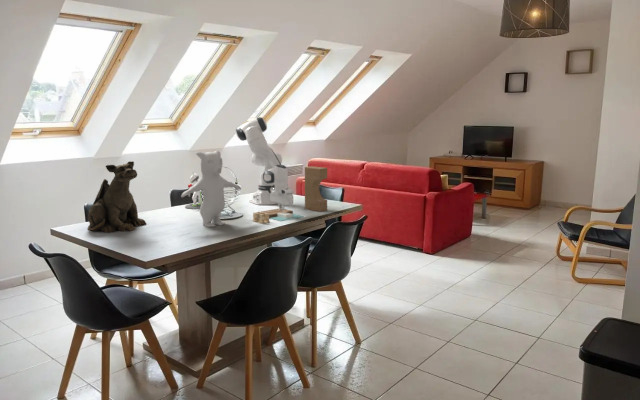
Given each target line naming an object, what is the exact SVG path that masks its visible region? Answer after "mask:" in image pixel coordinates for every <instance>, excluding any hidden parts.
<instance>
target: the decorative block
mask: <svg viewBox="0 0 640 400" xmlns="http://www.w3.org/2000/svg"><path fill="white" fill-rule="evenodd" d="M325 179H328V167H322V166H320V167H319V166H313V165H312V166H305V167H304V209H305V210H309V211H313V212H314V211H315V212H320V213H321V212H325V211H327V210H328V200H327V199H325V198H324V197H323V196H322V195H321V190H320V187H321V185H320V184H321V183H322V181H323V180H325Z"/></svg>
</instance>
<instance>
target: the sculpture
mask: <svg viewBox="0 0 640 400" xmlns="http://www.w3.org/2000/svg"><path fill="white" fill-rule="evenodd" d="M134 166H135V162H134V161H128V162H127V163H123V164H119V165H115V164H107V165H105V169H106V170H107V171H108V172H109V173H113V174H114V177H113V179H112V180H111V182H110V184H109V181H108V179H105V178H103V181H102V183H101V184H100V188H99V190H98V191H97V194H96V196H95V199H94V201H93V203H92V206H91V207H90V208H89V211H88V216H87V218H88V219H87V220H88V224H89V225H87V226H88V227H87V229H88V230H89V231H93V232H104V233H113V232H116V231H118V232H126V231H127V232H128V231H129V232H132V231H134V230H135V229H136V227H142V226H145V225H147V222H146V221H145V220H144V219H142V218H140V217H139V214H138V207H137V204H136V202H135V200H134V196H133V194H132V192H130V184H131V181H132V180H133V179H136V178H137V177H138V172H137V170H136V169H134Z"/></svg>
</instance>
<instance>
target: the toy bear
mask: <svg viewBox="0 0 640 400" xmlns="http://www.w3.org/2000/svg"><path fill="white" fill-rule="evenodd" d="M195 155H196V156H197V157H199V158H200V172H201V176H200V178H198V180H197V182H196V183H195V184H194V183H193V184H194V186H192V187H190V188H189V189H188V188H187V190H185V191H183V192H182V193H181V195H180V197H181V198H184V197H186V196H188V198H190V197H191V196H192V195H191V194H194V192H196V191H200V190H201V195H202V201H203V202H202V204H201V207H200V209H199V214H200V217H201V218H202V220H203V221H202V226H204V227H205V228H215V227H216V226H224V225H226V222H225V221H222V220H221V215H222V212H223V211H224V210H225V207H226V201H225V191H224V190H225V188H234V189H235V190H237V191H239V190H242V187H241V186H240V185H238V184H236V183H233V182H232V181H229V180H227V179H226V178H224V177H223V176H221V174H222V169H223V158H222V157H221V156H222V155H221V151H220V150H215V151H213V152H212V151H207V152H202V151H196V152H195Z"/></svg>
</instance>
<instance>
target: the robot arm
mask: <svg viewBox="0 0 640 400" xmlns="http://www.w3.org/2000/svg"><path fill="white" fill-rule="evenodd" d="M267 129H268V123H267V121H266V119H264V118H263V117H261V116H260V117H256V118H254V119H250V120H248V121H246V122H244V123H243V124H241V125H239V126H237V127H236V128H235V134H236V137H237V138H238V139H239V140H240V141H243V142H244V141H247V145H248V147H249V148H250V151H251V152H252V155H251V162H252V164H253V165H255V166H259V167H264V169H263V171H262V172H261V173H260V174H259V185H257V187H258V188H257V190H256V191H255V192H254V193H253V194H252V199H251V200H249V202H250V203H252V204H255V205H259V206H261V205H262V206H264V205H265V206H269V205H275V204H277V206H278V209H279V210H282V211H284V209H285V208H286V207H285V206H293V205H294V195H293V194H294V190H293V189H292V188H290V187H289V184H288V181H289V173H288V171H289V170H288V167H287V166H286V165H285V164H284V165H283V164H282V163H283V157H282V155H281V154H280V153H278V152H275V151H274V150H273V148H271V147H270V146H269V145H268V142H267V139H266V137H265V135H264V134H263V133H265V131H267Z"/></svg>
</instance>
